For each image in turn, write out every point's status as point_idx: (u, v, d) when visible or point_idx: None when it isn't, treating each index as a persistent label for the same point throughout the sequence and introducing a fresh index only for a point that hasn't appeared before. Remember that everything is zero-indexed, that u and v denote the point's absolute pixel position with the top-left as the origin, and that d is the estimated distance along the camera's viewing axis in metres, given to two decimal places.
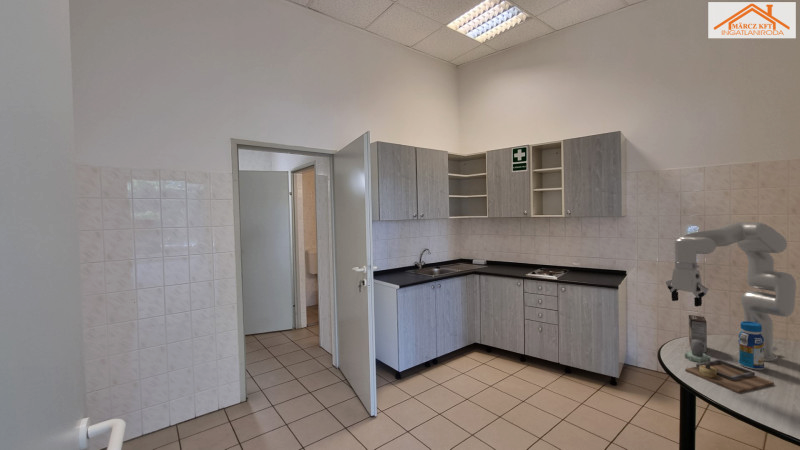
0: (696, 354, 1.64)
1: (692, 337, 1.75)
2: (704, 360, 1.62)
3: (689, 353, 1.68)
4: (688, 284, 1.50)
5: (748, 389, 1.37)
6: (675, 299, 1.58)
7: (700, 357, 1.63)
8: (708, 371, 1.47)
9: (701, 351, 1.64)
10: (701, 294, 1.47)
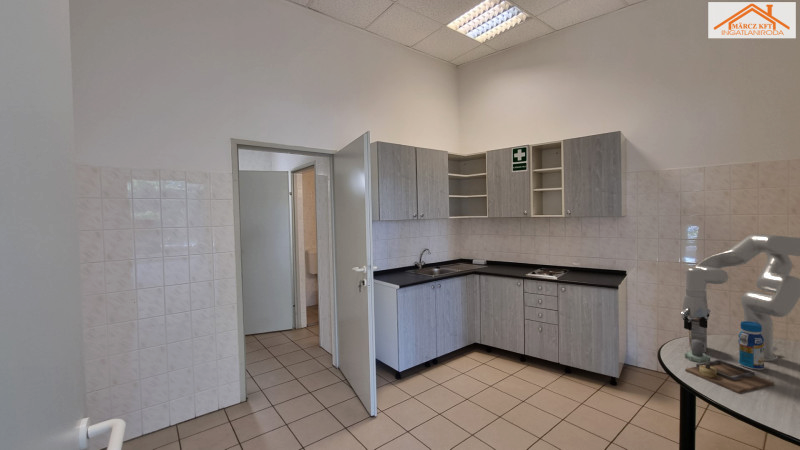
0: (696, 354, 1.64)
1: (692, 337, 1.75)
2: (704, 360, 1.62)
3: (689, 353, 1.68)
4: (705, 310, 1.63)
5: (748, 389, 1.37)
6: None
7: (700, 357, 1.63)
8: (708, 371, 1.47)
9: (701, 351, 1.64)
10: (708, 316, 1.66)
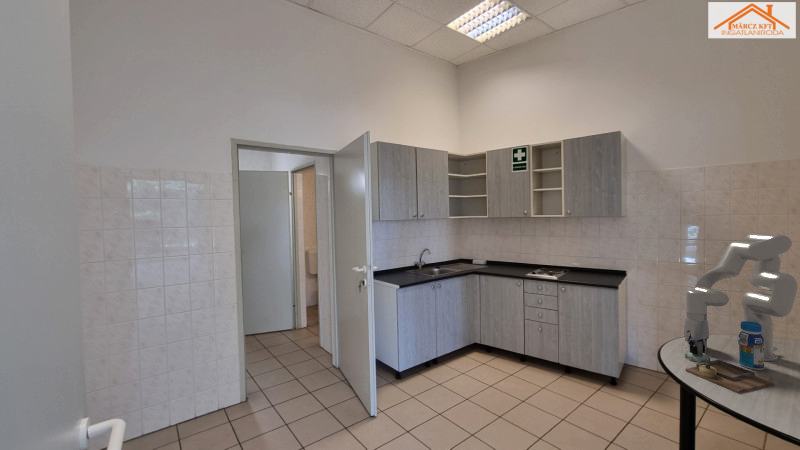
0: None
1: None
2: (704, 360, 1.62)
3: (689, 353, 1.68)
4: (706, 332, 1.64)
5: (748, 389, 1.37)
6: None
7: (700, 357, 1.63)
8: (708, 371, 1.47)
9: (701, 351, 1.64)
10: (705, 340, 1.66)
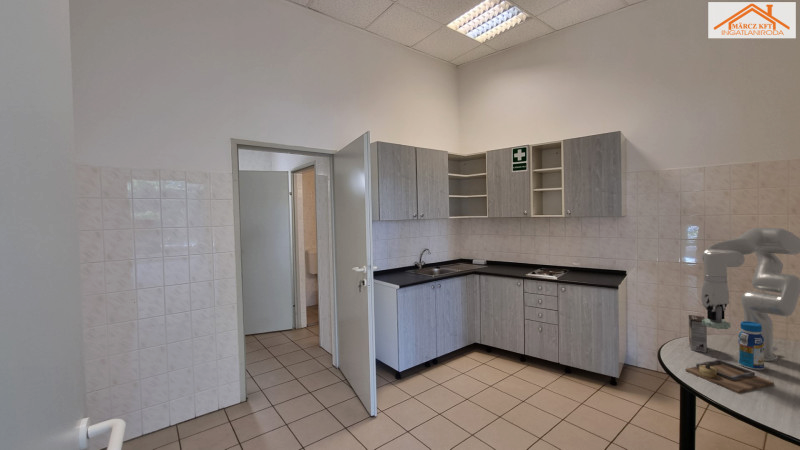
0: None
1: (692, 337, 1.75)
2: (723, 326, 1.50)
3: (707, 320, 1.56)
4: (726, 296, 1.52)
5: (748, 389, 1.37)
6: None
7: (719, 323, 1.51)
8: (708, 371, 1.47)
9: (720, 317, 1.52)
10: (725, 306, 1.54)
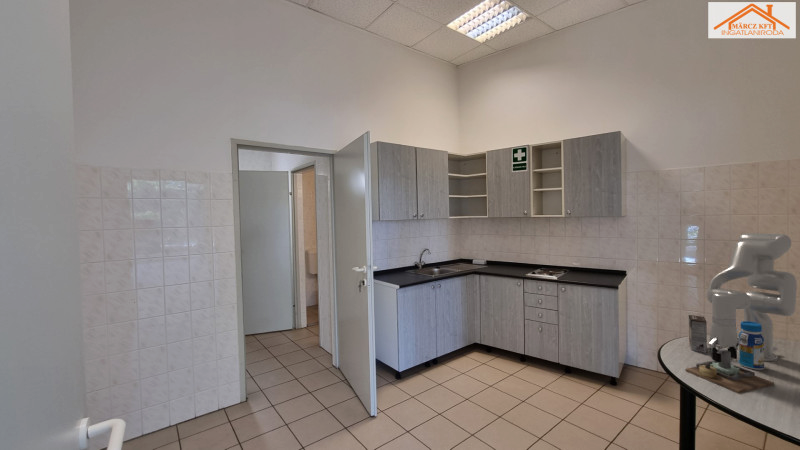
0: (723, 366, 1.50)
1: (692, 337, 1.75)
2: (733, 372, 1.47)
3: (715, 364, 1.53)
4: (734, 339, 1.49)
5: (748, 389, 1.37)
6: None
7: (728, 369, 1.48)
8: (708, 371, 1.47)
9: (729, 362, 1.49)
10: (737, 345, 1.51)
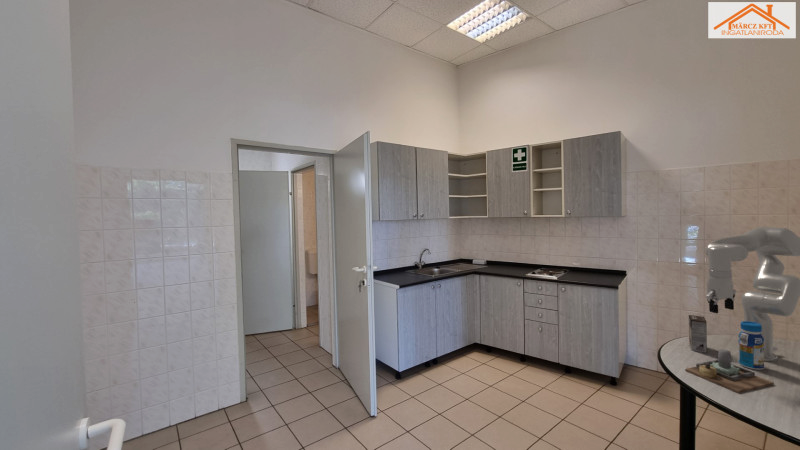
0: (723, 366, 1.50)
1: (692, 337, 1.75)
2: (733, 372, 1.47)
3: (715, 364, 1.53)
4: (731, 290, 1.53)
5: (748, 389, 1.37)
6: None
7: (728, 369, 1.48)
8: (708, 371, 1.47)
9: (729, 362, 1.49)
10: (734, 296, 1.55)
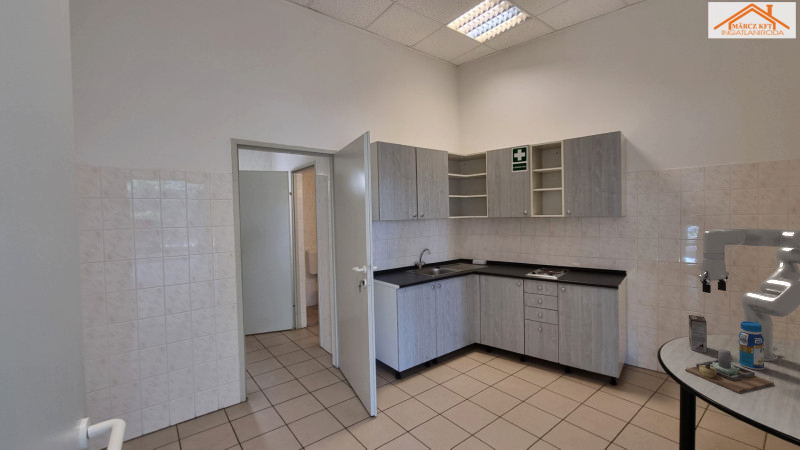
0: (723, 366, 1.50)
1: (692, 337, 1.75)
2: (733, 372, 1.47)
3: (715, 364, 1.53)
4: (723, 272, 1.61)
5: (748, 389, 1.37)
6: None
7: (728, 369, 1.48)
8: (708, 371, 1.47)
9: (729, 362, 1.49)
10: (726, 278, 1.64)
